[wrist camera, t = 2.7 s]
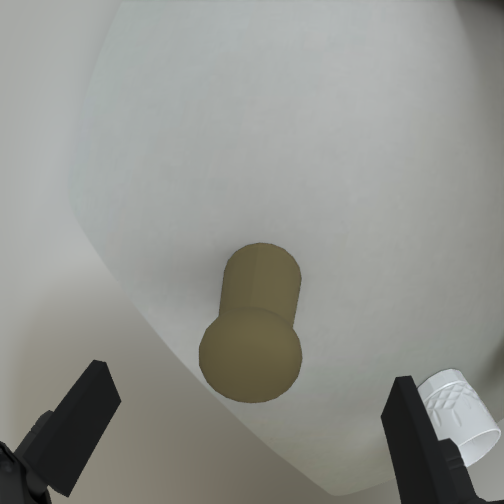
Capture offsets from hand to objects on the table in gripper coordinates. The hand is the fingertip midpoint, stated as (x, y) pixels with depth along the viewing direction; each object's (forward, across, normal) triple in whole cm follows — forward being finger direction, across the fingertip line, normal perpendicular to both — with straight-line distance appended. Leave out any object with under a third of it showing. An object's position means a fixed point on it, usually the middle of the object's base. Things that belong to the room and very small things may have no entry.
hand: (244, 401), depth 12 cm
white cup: (+12, +20, -14) cm, 27 cm away
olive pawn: (+12, 0, 0) cm, 12 cm away
